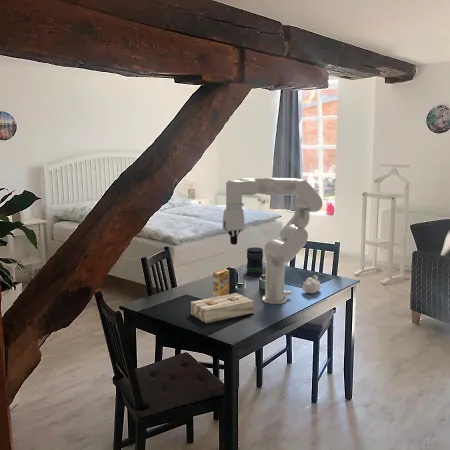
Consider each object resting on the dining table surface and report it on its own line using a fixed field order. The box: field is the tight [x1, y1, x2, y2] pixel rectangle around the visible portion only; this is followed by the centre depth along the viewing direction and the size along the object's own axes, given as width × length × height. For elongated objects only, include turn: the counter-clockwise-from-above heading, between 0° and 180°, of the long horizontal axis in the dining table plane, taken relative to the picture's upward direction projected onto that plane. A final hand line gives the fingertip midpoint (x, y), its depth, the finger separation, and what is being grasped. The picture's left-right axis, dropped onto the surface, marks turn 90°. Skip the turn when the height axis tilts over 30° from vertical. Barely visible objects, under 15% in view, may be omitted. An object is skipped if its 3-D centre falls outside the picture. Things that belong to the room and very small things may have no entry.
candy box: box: [212, 268, 230, 298], centre depth 264 cm, size 9×4×15 cm, turn 144°
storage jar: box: [246, 246, 264, 276], centre depth 315 cm, size 10×10×15 cm
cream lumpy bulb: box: [301, 274, 322, 295], centre depth 277 cm, size 10×8×15 cm
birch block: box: [190, 292, 254, 324], centre depth 245 cm, size 14×26×6 cm, turn 122°
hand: (233, 243), depth 248 cm, fingers closed
